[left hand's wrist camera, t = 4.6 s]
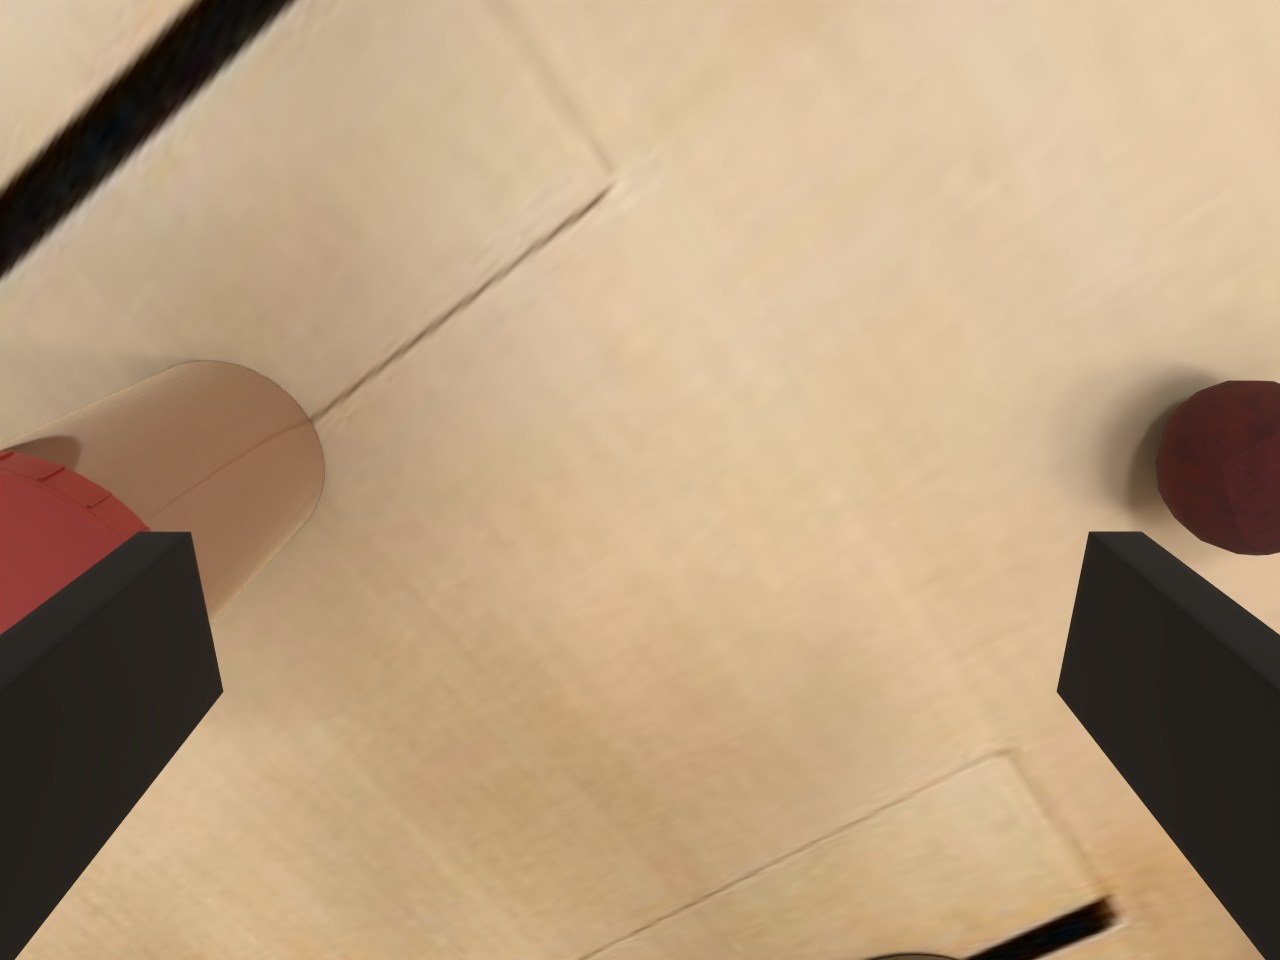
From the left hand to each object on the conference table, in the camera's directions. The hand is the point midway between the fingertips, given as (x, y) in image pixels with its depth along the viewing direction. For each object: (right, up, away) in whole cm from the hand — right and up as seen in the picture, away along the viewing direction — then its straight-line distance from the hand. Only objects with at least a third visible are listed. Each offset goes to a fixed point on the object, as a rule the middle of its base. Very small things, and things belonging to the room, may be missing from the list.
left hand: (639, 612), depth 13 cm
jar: (-20, +3, +29) cm, 35 cm away
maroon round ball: (+27, +4, +28) cm, 39 cm away
